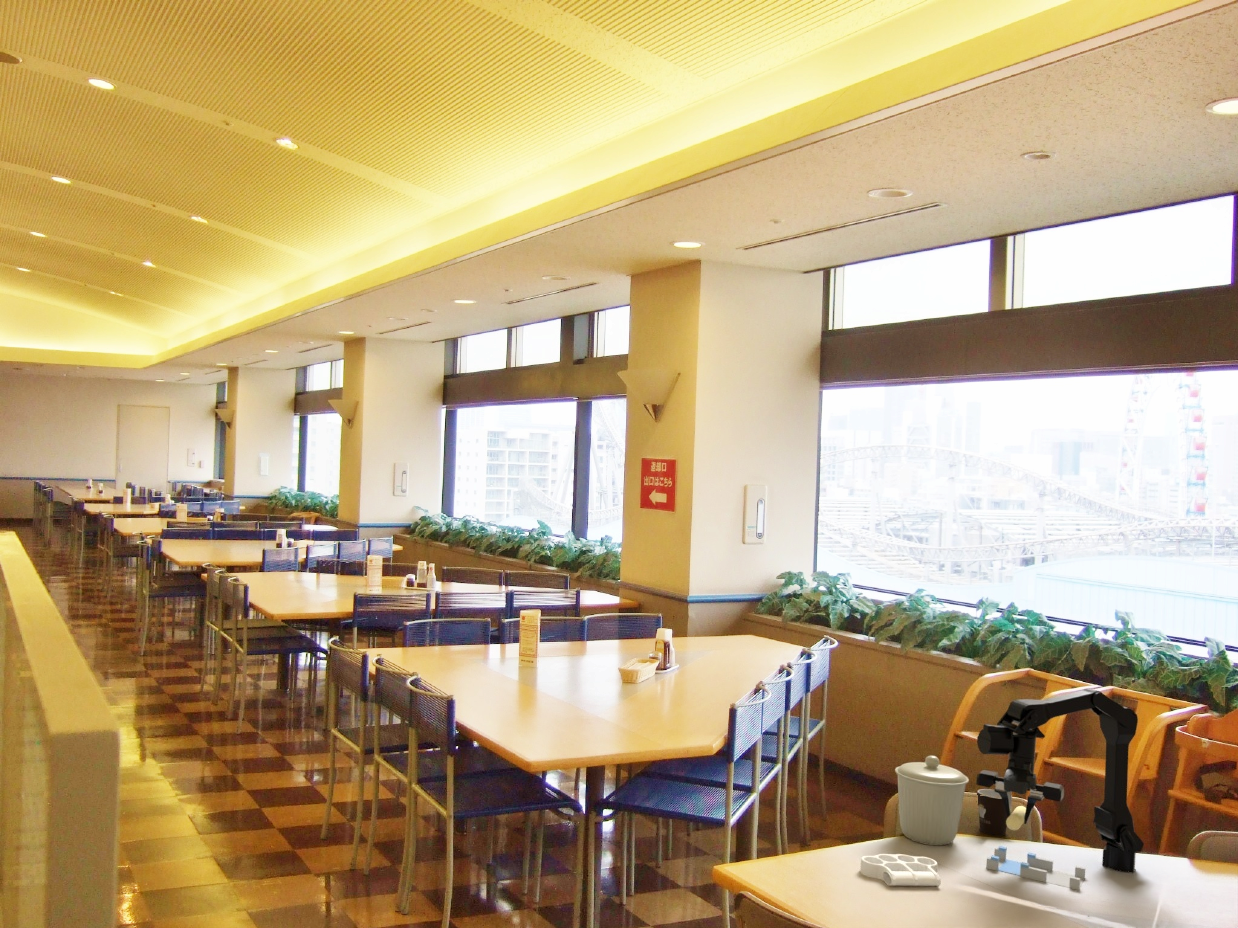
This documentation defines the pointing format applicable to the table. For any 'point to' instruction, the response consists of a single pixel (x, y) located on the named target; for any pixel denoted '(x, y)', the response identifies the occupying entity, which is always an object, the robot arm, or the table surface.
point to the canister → (930, 801)
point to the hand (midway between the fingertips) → (1017, 821)
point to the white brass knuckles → (901, 870)
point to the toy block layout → (1035, 869)
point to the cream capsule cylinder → (1016, 818)
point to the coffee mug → (991, 813)
